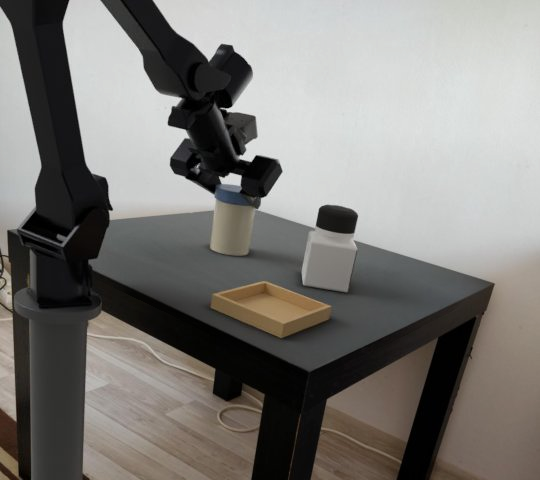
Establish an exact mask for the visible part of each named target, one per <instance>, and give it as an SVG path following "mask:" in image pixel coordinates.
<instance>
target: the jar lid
mask: <svg viewBox="0 0 540 480" xmlns="http://www.w3.org/2000/svg"><path fill="white" fill-rule="evenodd" d="M241 189H242V188H241V185H239V184H238V185H237V184H230V183H229V184H228V183H222V184H217V185H216V187H215V195H214V194H213V197H214V199H215V200H216V199H218V200H220V201H223V202H227V203H232V204H239V205H251V204H249V203H248V202H247V201H246V200H245V199H244V198H243V197H242V196H241V195H240V194H239V192H240V190H241Z"/></svg>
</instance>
